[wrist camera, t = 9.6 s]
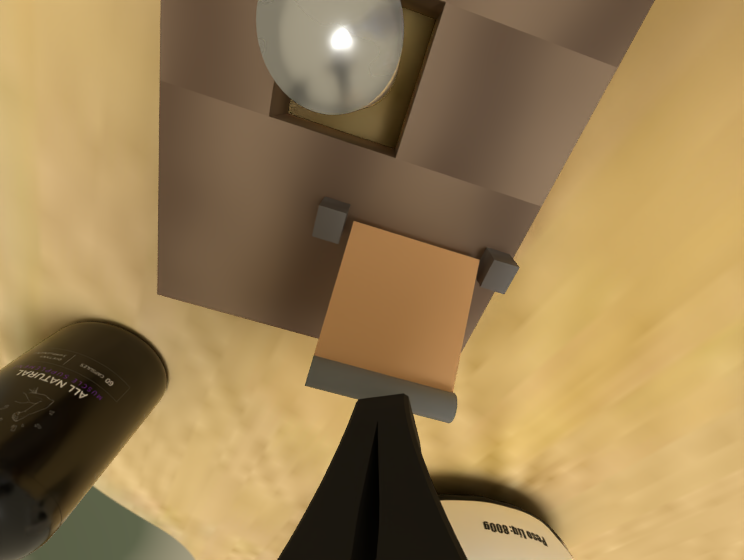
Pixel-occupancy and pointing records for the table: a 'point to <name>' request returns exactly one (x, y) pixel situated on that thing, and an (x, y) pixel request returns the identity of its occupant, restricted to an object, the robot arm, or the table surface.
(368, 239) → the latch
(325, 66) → the steel pin
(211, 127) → the brown board with hole
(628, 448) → the table surface
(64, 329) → the supplement bottle
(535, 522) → the milk container
